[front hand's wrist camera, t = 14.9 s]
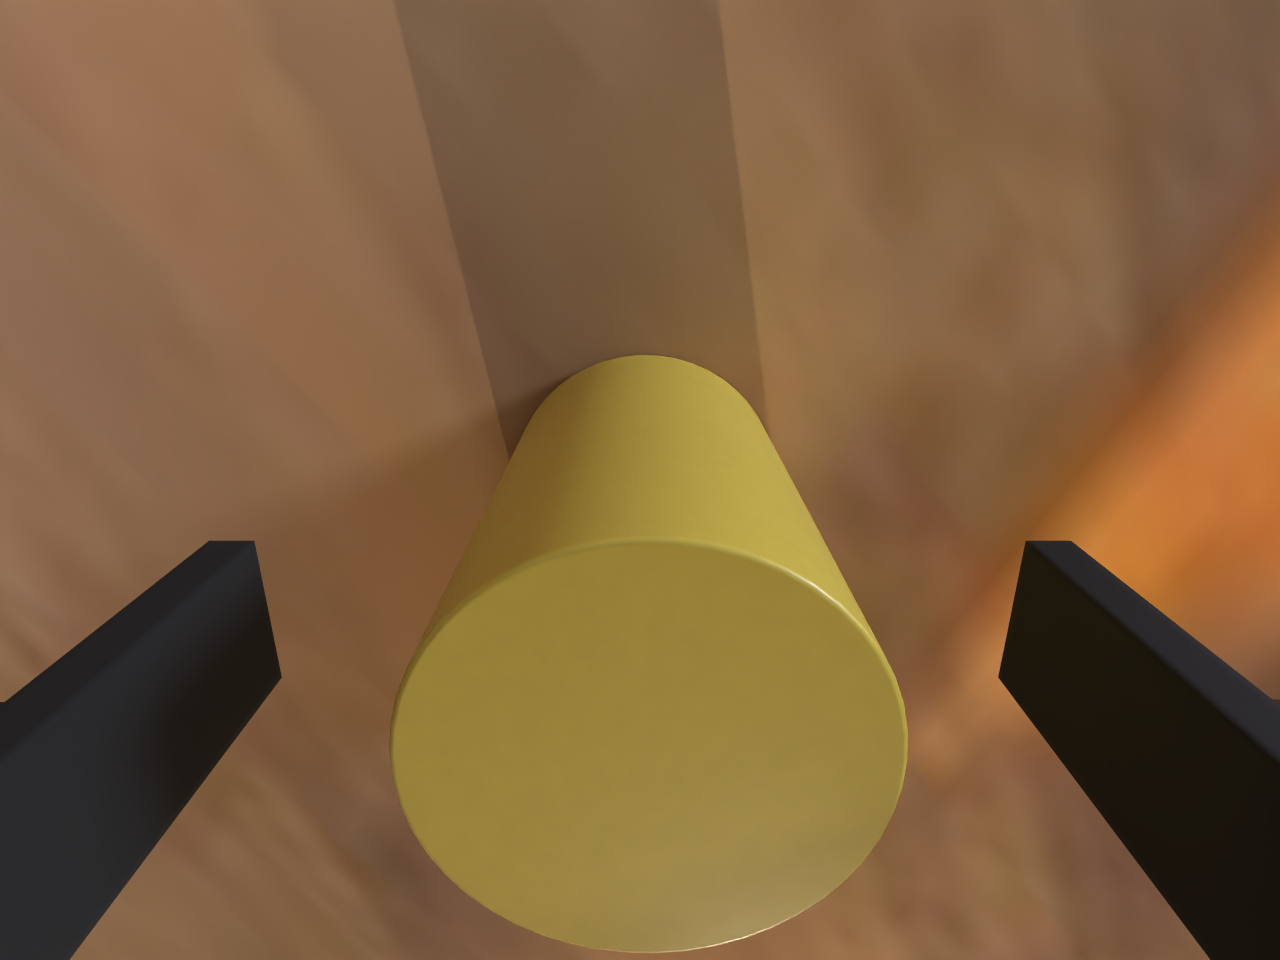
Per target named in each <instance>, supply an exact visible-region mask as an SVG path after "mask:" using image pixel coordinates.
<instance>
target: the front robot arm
mask: <svg viewBox="0 0 1280 960" xmlns="http://www.w3.org/2000/svg"><path fill="white" fill-rule="evenodd" d="M281 678H282V677H281V672H280V667H279V662H278V657H277V652H276V647H275V642H274V637H273V632H272V627H271V622H270V617H269V612H268V607H267V602H266V597H265V592H264V587H263V582H262V577H261V572H260V567H259V562H258V557H257V552H256V547H255V542H254V541H208V542H207V543H206V544H204V545H203V546H202V547H201V548H199V549H198V550H197V551H196V552H194V553H193V554H192V555H191V556H189V557H188V558H187V559H185V560H184V561H183V562H182V563H180V564H179V565H178V566H177V567H175V568H174V569H173V570H172V571H170V572H169V573H168V574H166V575H165V576H164V577H163V578H161V579H160V580H159V581H158V582H156V583H155V584H154V585H153V586H151V587H150V588H149V589H147V590H146V591H145V592H144V593H142V594H141V595H140V596H139V597H137V598H136V599H135V600H133V601H132V602H131V603H130V604H128V605H127V606H126V607H125V608H123V609H122V610H121V611H120V612H118V613H117V614H116V615H114V616H113V617H112V618H111V619H109V620H108V621H107V622H106V623H104V624H103V625H102V626H101V627H99V628H98V629H97V630H95V631H94V632H93V633H92V634H90V635H89V636H88V637H87V638H85V639H84V640H83V641H82V642H80V643H79V644H78V645H76V646H75V647H74V648H73V649H71V650H70V651H69V652H68V653H66V654H65V655H64V656H63V657H61V658H60V659H59V660H57V661H56V662H55V663H54V664H52V665H51V666H50V667H49V668H47V669H46V670H45V671H44V672H42V673H41V674H40V675H38V676H37V677H36V678H35V679H33V680H32V681H31V682H30V683H28V684H27V685H26V686H24V687H23V688H22V689H21V690H19V691H18V692H17V693H16V694H14V695H13V696H12V697H11V698H9V699H8V700H7V701H5V702H0V960H70V958H71V957H72V956H73V954H74V953H75V952H76V950H77V949H78V948H79V946H80V945H81V944H82V942H83V941H84V940H85V938H86V937H87V936H88V934H89V933H90V932H91V930H92V929H93V928H94V926H95V925H96V924H97V922H98V921H99V920H100V918H101V917H102V916H103V914H104V913H105V912H106V910H107V909H108V908H109V906H110V905H111V904H112V902H113V901H114V900H115V898H116V897H117V896H118V894H119V893H120V892H121V890H122V889H123V888H124V886H125V885H126V884H127V882H128V881H129V880H130V878H131V877H132V876H133V874H134V873H135V872H136V870H137V869H138V868H139V866H140V865H141V864H142V862H143V861H144V860H145V859H146V857H147V856H148V855H149V853H150V852H151V851H152V849H153V848H154V847H155V845H156V844H157V843H158V841H159V840H160V839H161V837H162V836H163V835H164V833H165V832H166V831H167V829H168V828H169V827H170V825H171V824H172V823H173V821H174V820H175V819H176V817H177V816H178V815H179V813H180V812H181V811H182V809H183V808H184V807H185V805H186V804H187V803H188V801H189V800H190V799H191V797H192V796H193V795H194V793H195V792H196V791H197V789H198V788H199V787H200V785H201V784H202V783H203V781H204V780H205V779H206V777H207V776H208V775H209V773H210V772H211V771H212V769H213V768H214V767H215V765H216V764H217V763H218V761H219V760H220V759H221V757H222V756H223V755H224V753H225V752H226V751H227V749H228V748H229V747H230V745H231V744H232V743H233V741H234V740H235V739H236V737H237V736H238V735H239V734H240V732H241V731H242V730H243V728H244V727H245V726H246V724H247V723H248V722H249V720H250V719H251V718H252V716H253V715H254V714H255V712H256V711H257V710H258V708H259V707H260V706H261V704H262V703H263V702H264V700H265V699H266V698H267V696H268V695H269V694H270V692H271V691H272V690H273V688H274V687H275V686H276V684H277V683H278V682H279V680H280V679H281ZM998 678H999V679H1000V680H1001V682H1002V683H1003V684H1004V686H1005V687H1006V688H1007V690H1008V691H1009V692H1010V694H1011V695H1012V696H1013V698H1014V699H1015V700H1016V702H1017V703H1018V704H1019V706H1020V707H1021V708H1022V710H1023V711H1024V712H1025V714H1026V715H1027V716H1028V718H1029V719H1030V720H1031V722H1032V723H1033V724H1034V726H1035V727H1036V728H1037V730H1038V731H1039V732H1040V734H1041V735H1042V736H1043V737H1044V739H1045V740H1046V741H1047V743H1048V744H1049V745H1050V747H1051V748H1052V749H1053V751H1054V752H1055V753H1056V755H1057V756H1058V757H1059V759H1060V760H1061V761H1062V763H1063V764H1064V765H1065V767H1066V768H1067V769H1068V771H1069V772H1070V773H1071V775H1072V776H1073V777H1074V779H1075V780H1076V781H1077V783H1078V784H1079V785H1080V787H1081V788H1082V789H1083V791H1084V792H1085V793H1086V795H1087V796H1088V797H1089V799H1090V800H1091V801H1092V803H1093V804H1094V805H1095V807H1096V808H1097V809H1098V811H1099V812H1100V813H1101V815H1102V816H1103V817H1104V819H1105V820H1106V821H1107V823H1108V824H1109V825H1110V827H1111V828H1112V829H1113V831H1114V832H1115V833H1116V835H1117V836H1118V837H1119V839H1120V840H1121V841H1122V843H1123V844H1124V845H1125V847H1126V848H1127V849H1128V851H1129V852H1130V853H1131V855H1132V856H1133V857H1134V859H1135V860H1136V861H1137V862H1138V864H1139V865H1140V866H1141V868H1142V869H1143V870H1144V872H1145V873H1146V874H1147V876H1148V877H1149V878H1150V880H1151V881H1152V882H1153V884H1154V885H1155V886H1156V888H1157V889H1158V890H1159V892H1160V893H1161V894H1162V896H1163V897H1164V898H1165V900H1166V901H1167V902H1168V904H1169V905H1170V906H1171V908H1172V909H1173V910H1174V912H1175V913H1176V914H1177V916H1178V917H1179V918H1180V920H1181V921H1182V922H1183V924H1184V925H1185V926H1186V928H1187V929H1188V930H1189V932H1190V933H1191V934H1192V936H1193V937H1194V938H1195V940H1196V941H1197V942H1198V944H1199V945H1200V946H1201V948H1202V949H1203V950H1204V952H1205V953H1206V954H1207V956H1208V957H1209V958H1210V960H1280V700H1272V699H1271V698H1269V697H1268V696H1267V695H1266V694H1264V693H1263V692H1262V691H1261V690H1259V689H1258V688H1257V687H1256V686H1254V685H1253V684H1252V683H1250V682H1249V681H1248V680H1247V679H1245V678H1244V677H1243V676H1242V675H1240V674H1239V673H1238V672H1236V671H1235V670H1234V669H1233V668H1231V667H1230V666H1229V665H1228V664H1226V663H1225V662H1224V661H1223V660H1221V659H1220V658H1219V657H1217V656H1216V655H1215V654H1214V653H1212V652H1211V651H1210V650H1209V649H1207V648H1206V647H1205V646H1204V645H1202V644H1201V643H1200V642H1198V641H1197V640H1196V639H1195V638H1193V637H1192V636H1191V635H1190V634H1188V633H1187V632H1186V631H1185V630H1183V629H1182V628H1181V627H1179V626H1178V625H1177V624H1176V623H1174V622H1173V621H1172V620H1171V619H1169V618H1168V617H1167V616H1166V615H1164V614H1163V613H1162V612H1160V611H1159V610H1158V609H1157V608H1155V607H1154V606H1153V605H1152V604H1150V603H1149V602H1148V601H1147V600H1145V599H1144V598H1143V597H1141V596H1140V595H1139V594H1138V593H1136V592H1135V591H1134V590H1133V589H1131V588H1130V587H1129V586H1127V585H1126V584H1125V583H1124V582H1122V581H1121V580H1120V579H1119V578H1117V577H1116V576H1115V575H1114V574H1112V573H1111V572H1110V571H1108V570H1107V569H1106V568H1105V567H1103V566H1102V565H1101V564H1100V563H1098V562H1097V561H1096V560H1095V559H1093V558H1092V557H1091V556H1089V555H1088V554H1087V553H1086V552H1084V551H1083V550H1082V549H1081V548H1079V547H1078V546H1077V545H1076V544H1074V543H1073V542H1072V541H1026V542H1025V547H1024V552H1023V557H1022V562H1021V567H1020V572H1019V577H1018V582H1017V587H1016V592H1015V597H1014V602H1013V607H1012V612H1011V617H1010V622H1009V627H1008V632H1007V637H1006V642H1005V647H1004V652H1003V657H1002V662H1001V667H1000V672H999V677H998Z"/></svg>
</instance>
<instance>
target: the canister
mask: <svg viewBox="0 0 1280 960" xmlns="http://www.w3.org/2000/svg"><path fill="white" fill-rule="evenodd" d="M389 750H390V758H391V766H392V775H393V781H394V784H395V788H396V791H397V795H398V798H399V802H400V805H401V808H402V810H403V812H404V814H405V816H406V819H407V821H408V823H409V825H410V827H411V829H412V831H413V833H414V834H415V836H416V837H417V839H418V840H419V842H420V844H421V845H422V847H423V848H424V850H425V851H426V853H427V854H428V855H429V856H430V858H431V859H432V860H433V861H434V862H435V863H436V865H437V866H438V867H439V868H440V869H441V870H442V871H443V873H444V874H445V875H446V876H447V877H449V878H450V879H451V880H452V881H453V882H454V883H455V884H456V885H457V886H458V887H460V888H461V889H462V890H463V891H464V892H465V893H466V894H468V895H469V896H471V897H472V898H473V899H475V900H476V901H478V902H479V903H481V904H482V905H483V906H485V907H486V908H488V909H489V910H491V911H493V912H495V913H496V914H498V915H500V916H502V917H504V918H505V919H507V920H509V921H511V922H513V923H515V924H517V925H519V926H522V927H524V928H526V929H529V930H531V931H533V932H536V933H538V934H541V935H544V936H547V937H550V938H553V939H557V940H560V941H563V942H566V943H570V944H575V945H579V946H584V947H589V948H594V949H599V950H608V951H618V952H627V953H666V952H679V951H689V950H695V949H701V948H707V947H713V946H718V945H722V944H725V943H729V942H733V941H736V940H740V939H744V938H747V937H750V936H752V935H755V934H757V933H760V932H763V931H765V930H768V929H771V928H773V927H775V926H777V925H779V924H781V923H783V922H785V921H787V920H789V919H791V918H793V917H795V916H797V915H799V914H801V913H802V912H804V911H805V910H807V909H808V908H810V907H811V906H813V905H814V904H816V903H818V902H819V901H821V900H822V899H824V898H825V897H826V896H827V895H828V894H830V893H831V892H832V891H833V890H835V889H836V888H837V887H838V886H839V885H841V884H842V883H843V882H844V881H845V880H846V879H847V878H848V877H849V876H850V875H851V874H852V873H853V872H854V871H855V870H856V869H857V868H858V867H859V866H860V865H861V863H862V862H863V861H864V860H865V859H866V857H867V856H868V855H869V853H870V852H871V851H872V849H873V848H874V846H875V845H876V844H877V842H878V841H879V840H880V838H881V836H882V834H883V832H884V831H885V829H886V827H887V825H888V823H889V821H890V819H891V817H892V816H893V813H894V810H895V807H896V805H897V802H898V799H899V796H900V793H901V791H902V786H903V781H904V776H905V770H906V765H907V753H908V728H907V721H906V714H905V707H904V702H903V699H902V696H901V693H900V690H899V687H898V683H897V680H896V677H895V675H894V673H893V671H892V669H891V667H890V665H889V663H888V661H887V659H886V657H885V655H884V653H883V651H882V649H881V648H880V646H879V644H878V642H877V640H876V638H875V636H874V634H873V632H872V631H871V629H870V627H869V625H868V623H867V621H866V619H865V617H864V616H863V614H862V612H861V610H860V608H859V606H858V604H857V602H856V600H855V599H854V597H853V595H852V593H851V591H850V589H849V587H848V585H847V583H846V582H845V580H844V578H843V576H842V574H841V572H840V570H839V568H838V567H837V565H836V563H835V561H834V559H833V557H832V555H831V553H830V551H829V550H828V548H827V546H826V544H825V542H824V540H823V538H822V536H821V535H820V533H819V531H818V529H817V527H816V525H815V523H814V521H813V519H812V518H811V516H810V514H809V512H808V510H807V508H806V506H805V504H804V503H803V501H802V499H801V497H800V495H799V493H798V491H797V489H796V487H795V486H794V484H793V482H792V480H791V478H790V476H789V474H788V472H787V470H786V469H785V467H784V465H783V463H782V461H781V459H780V457H779V455H778V454H777V452H776V450H775V448H774V446H773V444H772V442H771V440H770V438H769V437H768V435H767V433H766V431H765V429H764V427H763V425H762V423H761V422H760V420H759V418H758V416H757V415H756V413H755V412H754V410H753V409H752V407H751V406H750V405H749V403H748V402H747V401H746V400H745V399H744V398H743V397H742V396H741V394H740V393H739V392H738V391H737V390H736V389H734V388H733V387H732V386H731V385H730V384H728V383H727V382H726V381H725V380H723V379H722V378H720V377H719V376H717V375H715V374H714V373H712V372H710V371H709V370H707V369H704V368H702V367H700V366H698V365H695V364H693V363H690V362H687V361H683V360H680V359H676V358H671V357H665V356H658V355H634V356H625V357H619V358H615V359H610V360H606V361H603V362H600V363H598V364H595V365H592V366H590V367H587V368H585V369H584V370H582V371H580V372H578V373H576V374H575V375H573V376H571V377H570V378H568V379H567V380H566V381H564V382H563V383H562V384H560V385H559V386H558V387H557V388H556V389H555V390H554V391H553V392H551V393H550V394H549V395H548V396H547V397H546V398H545V400H544V401H543V402H542V403H541V405H540V406H539V407H538V409H537V410H536V411H535V413H534V414H533V416H532V418H531V420H530V421H529V423H528V425H527V427H526V429H525V431H524V433H523V435H522V437H521V439H520V441H519V443H518V445H517V447H516V449H515V451H514V453H513V455H512V457H511V459H510V461H509V463H508V465H507V467H506V469H505V471H504V473H503V475H502V477H501V479H500V481H499V483H498V485H497V487H496V489H495V491H494V493H493V495H492V497H491V499H490V501H489V503H488V505H487V507H486V509H485V511H484V513H483V515H482V517H481V519H480V521H479V523H478V525H477V527H476V529H475V531H474V533H473V535H472V537H471V539H470V541H469V543H468V546H467V548H466V550H465V552H464V554H463V556H462V558H461V560H460V562H459V564H458V566H457V568H456V570H455V572H454V574H453V576H452V578H451V580H450V582H449V584H448V586H447V588H446V590H445V592H444V594H443V596H442V598H441V600H440V602H439V604H438V606H437V608H436V610H435V612H434V614H433V616H432V618H431V620H430V622H429V624H428V626H427V628H426V630H425V632H424V634H423V636H422V638H421V640H420V642H419V644H418V646H417V648H416V650H415V652H414V654H413V656H412V658H411V660H410V662H409V664H408V666H407V669H406V671H405V674H404V676H403V679H402V681H401V684H400V687H399V689H398V692H397V694H396V699H395V704H394V708H393V713H392V718H391V724H390V748H389Z"/></svg>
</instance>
